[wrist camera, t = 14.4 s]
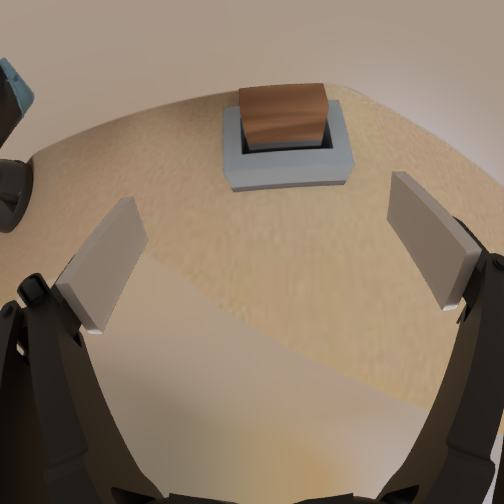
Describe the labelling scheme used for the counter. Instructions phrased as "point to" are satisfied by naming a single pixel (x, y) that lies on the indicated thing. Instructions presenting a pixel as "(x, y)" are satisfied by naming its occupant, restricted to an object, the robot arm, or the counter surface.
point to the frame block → (286, 157)
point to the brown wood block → (283, 116)
